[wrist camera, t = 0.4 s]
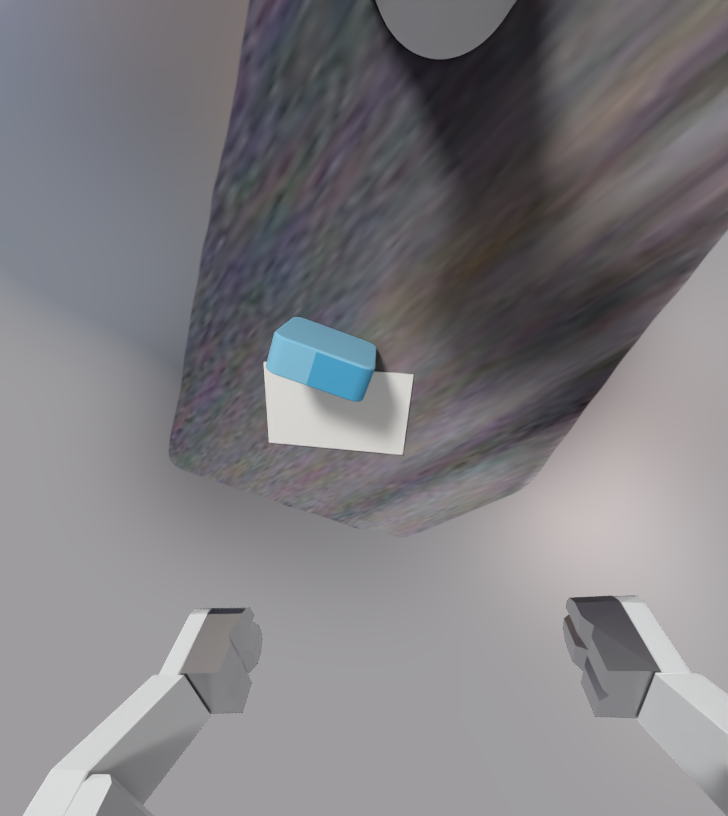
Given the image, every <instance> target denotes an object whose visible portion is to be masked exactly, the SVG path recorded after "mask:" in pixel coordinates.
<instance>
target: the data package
mask: <svg viewBox="0 0 728 816" xmlns="http://www.w3.org/2000/svg"><path fill="white" fill-rule="evenodd" d="M375 365H376V346H375V345H373V344H372V343H370V342H367V341H365V340H362V339H359V338H357V337H354V336H351V335H348V334H346V333H343V332H340V331H338V330H335V329H332V328H329V327H327V326H324V325H321V324H318V323H316V322H313V321H310V320H307V319H305V318H301V317H293V318H292V319H291V320H289V321H288V322H287V323H285V324H284V325H283V326H282V327H280V328H279V329H278V330H276V331H275V332H274V336H273V340H272V344H271V348H270V352H269V356H268V360H267V363H266V368H267V370H268V371H270V372H271V373H273V374H275V375H278V376H281V377H284V378H287V379H289V380H292V381H295V382H298V383H301V384H304V385H307V386H310V387H312V388H315V389H318V390H321V391H324V392H327V393H330V394H333V395H335V396H338V397H341V398H344V399H347V400H350V401H355V402H359V401H362V400H363V399H364V396H365V393H366V391H367V388H368V386H369V383H370V381H371V378H372V375H373V373H374V370H375Z"/></svg>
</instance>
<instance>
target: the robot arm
mask: <svg viewBox="0 0 728 816" xmlns="http://www.w3.org/2000/svg"><path fill="white" fill-rule="evenodd" d="M375 1H376V3H377V6H378V8H379V11H380V13H381V16H382V18H383V20H384V22H385V23H386V25H387V27H388V28H389V30H390V31H391V33H392V34H393V35H394V37H395V38H396V39H397V40H398V41H399V42H400V43H401V44H402V45H403V46H405V47H406V48H407V49H409V50H410V51H412V52H413V53H415V54H417V55H420V56H423V57H426V58H430V59H449V58H454V57H458V56H460V55H463V54H465V53H467V52H469V51H471V50H473V49H474V48H476V47H477V46H479V45H480V44H481V43H483V42H484V41H485V40H486V39H487V38H488V37H489V36H490V35H491V34H492V33H493V32H494V31H495V30H496V29H497V28H498V26H499V25H500V24H501V22H502V21H503V20H504V18H505V17H506V15H507V14H508V12H509V11H510V9H511V8H512V6H513V5H514V4H515V2H516V1H517V0H375ZM566 608H567V611H568V613H569V615H568V616H566V617H565V618H564V623H563V630H564V637H565V642H566V645H567V648H568V651H569V654H570V656H571V659H572V661H573V662H574V663H575V664H576V665H577V666H578V667H579V668H580V669H582V671H583V676H582V681H581V684H582V686H583V688H584V691H585V693H586V696H587V698H588V701H589V703H590V705H591V708H592V710H593V713H594V715H595V717H618V718H619V717H620V718H638V719H637V721H638V722H639V723H640V724H641V726H642V727H643V728H644V729H645V730H646V731H647V732H648V733H649V734H650V735H651V736H652V737H653V738H654V739H655V740H656V741H657V742H658V744H659V745H660V746H661V747H662V748H663V749H664V750H665V751H666V752H667V753H668V754H669V755H670V756H671V757H672V758H673V759H674V760H675V762H676V763H677V764H678V765H679V766H680V767H681V768H682V769H683V770H684V771H685V772H686V773H687V774H688V775H689V776H690V777H691V778H692V779H693V781H694V782H695V783H696V784H697V785H698V786H699V787H700V788H701V789H702V790H703V791H704V792H705V793H706V794H707V795H708V796H709V798H711V800H713V802H714V803H715V804H716V805H717V806H718V807H719V808H720V809H721V810H722V811H723V812H724V813H725V814H726V815H727V816H728V694H727V693H725V692H724V691H723V690H721V689H720V688H719V687H717V686H716V685H715V684H713V683H712V682H711V681H709V680H708V679H707V678H705V677H704V676H703V675H701V674H700V673H697V672H690V670H689V669H688V667H687V666H686V664H685V663H684V661H683V660H682V658H681V657H680V655H679V654H678V652H677V651H676V649H675V648H674V646H673V644H672V643H671V641H670V640H669V638H668V637H667V635H666V634H665V632H664V631H663V629H662V628H661V626H660V625H659V623H658V622H657V620H656V619H655V617H654V616H653V614H652V613H651V611H650V610H649V608H648V607H647V605H646V604H645V602H644V601H643V600H642V599H641V598H640V597H638V596H598V597H575V598H569V599H568V600H567V603H566ZM253 617H254V614H253V612H252V610H251V609H250V608H197V609H195V610H194V611H193V612H192V613H191V614H190V615H189V617H188V619H187V621H186V623H185V625H184V627H183V629H182V630H181V632H180V634H179V636H178V638H177V640H176V642H175V644H174V646H173V648H172V650H171V652H170V654H169V656H168V658H167V660H166V662H165V664H164V665H163V667H162V670H161V671H160V673H159V674H158V675H153V676H152V677H151V678H150V679H148V680H147V681H146V682H145V683H144V684H143V685H142V686H141V687H140V688H139V689H138V690H137V691H136V692H134V693H133V694H132V695H131V696H130V697H129V698H128V699H127V700H126V701H125V702H124V703H123V704H121V706H119V707H118V708H117V709H116V710H115V711H114V712H113V713H112V714H111V715H110V716H109V717H108V718H106V719H105V721H103V722H102V723H101V724H100V725H99V726H98V727H97V728H96V729H95V730H94V731H92V732H91V733H90V734H89V735H88V736H87V737H86V738H85V739H84V740H83V741H82V742H81V743H80V744H78V745H77V746H76V747H75V748H74V749H73V750H72V751H71V752H70V753H69V754H68V755H67V756H66V757H64V758H63V759H62V760H61V761H60V762H59V763H58V764H57V765H56V766H55V767H54V768H53V769H52V770H51V771H50V773H49V774H48V776H47V777H46V779H45V781H44V782H43V784H42V785H41V787H40V789H39V790H38V792H37V793H36V795H35V797H34V798H33V800H32V802H31V803H30V805H29V807H28V808H27V810H26V811H25V813H24V814H23V816H154V815H153V814H152V813H151V812H150V811H148V810H147V809H146V808H145V807H144V806H143V804H144V803H145V802H146V800H147V799H148V798H149V796H150V795H151V794H152V792H153V791H154V790H155V789H156V787H157V786H158V785H159V783H160V782H161V781H162V779H163V778H164V777H165V775H166V774H167V773H168V772H169V770H170V769H171V768H172V766H173V765H174V764H175V762H176V761H177V760H178V759H179V757H180V756H181V755H182V753H183V752H184V751H185V749H186V748H187V747H188V745H189V744H190V743H191V741H192V740H193V739H194V738H195V736H196V735H197V734H198V732H199V731H200V730H201V729H202V727H203V726H204V724H205V723H206V722H207V721H208V719H209V718H210V717H211V715H210V714H220V713H243V710H244V707H245V703H246V700H247V697H248V694H249V690H250V687H251V684H252V682H251V678H250V675H249V673H250V672H251V670H252V669H253V668H254V667H255V666H256V665H257V664H258V661H259V657H260V653H261V646H262V633H261V630H260V627H259V625H258V624H256V623H255V622H253V621H252V620H253Z"/></svg>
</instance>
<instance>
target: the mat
mask: <svg viewBox="0 0 728 816" xmlns="http://www.w3.org/2000/svg"><path fill="white" fill-rule="evenodd" d="M266 363H267V362H264V376H265V391H266V405H267V420H268V434H269V443H279V444H290V445H301V446H311V447H322V448H333V449H344V450H355V451H365V452H376V453H387V454H398V455H403V449H404V442H405V434H406V427H407V420H408V412H409V405H410V398H411V390H412V383H413V376H414V375H413V374H402V373H391V372H379V371H374V373H373V375H372V378H371V381H370V383H369V386H368V388H367V391H366V393H365V396H364V399H363V400H362V401H359V402H355V401H350V400H347V399H344V398H341V397H338V396H335V395H333V394H330V393H327V392H324V391H321V390H318V389H315V388H312V387H310V386H307V385H304V384H301V383H298V382H295V381H292V380H289V379H287V378H284V377H281V376H278V375H275V374H273V373H271V372H270V371H268V370H267V368H266Z"/></svg>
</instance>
